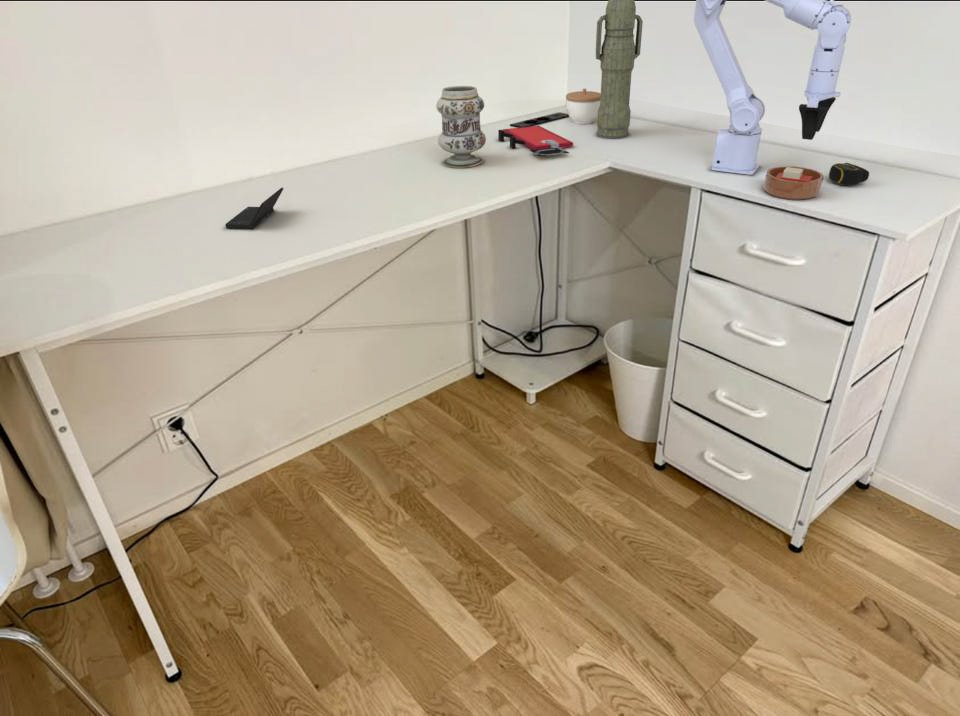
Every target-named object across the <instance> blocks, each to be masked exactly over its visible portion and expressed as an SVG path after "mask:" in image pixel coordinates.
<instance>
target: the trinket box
mask: <svg viewBox="0 0 960 716" xmlns="http://www.w3.org/2000/svg"><path fill="white" fill-rule="evenodd" d="M600 97H601V92H598V91H592V90H591V91H589V90H587V88H582V91H580V90H579V91H572V92H569V93H566V95H565V100H566V101H565V103H566V104H565V107H566V112H567V115H568V117H569V119H571V120H572V122H573V123H574V124H578V125H588V124H592V123H594V121H595V120H597V116H598V109H599V106H600Z"/></svg>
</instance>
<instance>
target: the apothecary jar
mask: <svg viewBox="0 0 960 716" xmlns="http://www.w3.org/2000/svg"><path fill="white" fill-rule="evenodd" d="M435 108H436V110H437V112H438V113H439V114H441V133H440V134H439V136H438V137H437V144H438V146H439V147H440V148H441V149H442V150H443V151H444V152H447V153H450V154H453V155H450V156H449V157H447V158H445V159H444V160H443V165H444V166H446V167H449V168H453V169H454V168H455V169H456V168H457V169H466V168H473V167H477V166H479V165H481V164H482V163H483V159H482V157H480V156H479V155H478V156H477V155H475V154H472V153H474V152H476V151H479V150H480V149H482V148H483V147H484V146H485V145H486V143H487V137H486V134H485V133H484V132H483V130H482V129H481V112H483V110H484V108H485V102H484V99H483V98H482V97H481V96H480V95H479V92H478V89H477V87H476V86H472V85H453V86H446V87H443V88H442V90H441V96H440V98H439V99H438V100H437V101H436V105H435Z"/></svg>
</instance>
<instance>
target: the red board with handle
mask: <svg viewBox="0 0 960 716" xmlns="http://www.w3.org/2000/svg"><path fill="white" fill-rule="evenodd" d="M497 136H498V137H497V139H498V141H499V142H503V143H504V142H505V138H508V139H509V148H510V149H516V146H517V145H522V146H525V147H528V148H529V151H530V152H531V153H533V154H535V155H536V156H538V157H546V156H553V155H554V156H555V155H564V154H570V151H567V150H565V149H563V148H568V147H574V142H573V141H571V140H569V139H567V138H565V137H564V136H561V135H559V134H557V133H555V132H553V131H550V130H549V129H547V128H544V127H543V126H541V125H531V126H522V127H513V128H503V129H498V135H497Z"/></svg>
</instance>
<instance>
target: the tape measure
mask: <svg viewBox="0 0 960 716" xmlns="http://www.w3.org/2000/svg"><path fill="white" fill-rule="evenodd" d="M869 177H870V171H869V170H868V169H865V168H864V167H862V166H859V165H856V164H854V163H853V164H852V163H849V162H844V163H841V162H840V163H838V162H837V163H834V164H833V165H831V167H830V169H829V173H828V179H829V180H830V181H831V182H833V183H836V184H837V185H840V186H845V185H850V186H853V185H858V184H860V183H864V182H866V181H867V180H869Z"/></svg>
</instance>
